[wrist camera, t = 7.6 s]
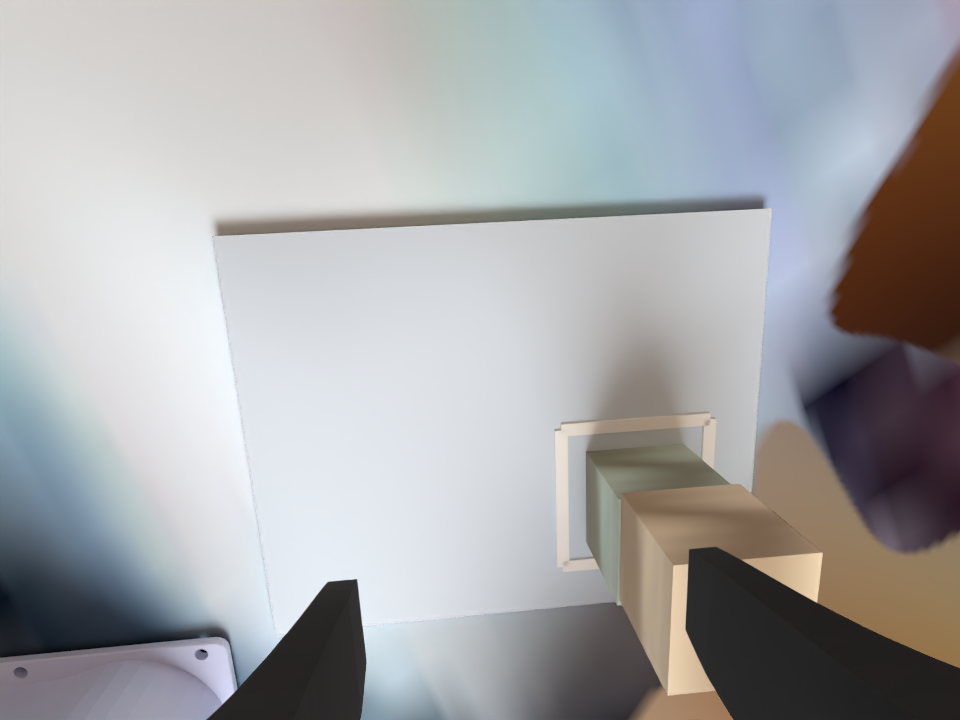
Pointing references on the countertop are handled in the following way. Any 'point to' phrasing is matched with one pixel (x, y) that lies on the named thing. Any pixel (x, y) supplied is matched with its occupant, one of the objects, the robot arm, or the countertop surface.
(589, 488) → the sage base cube
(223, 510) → the countertop surface
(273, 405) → the white rectangular panel
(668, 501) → the maple cube
